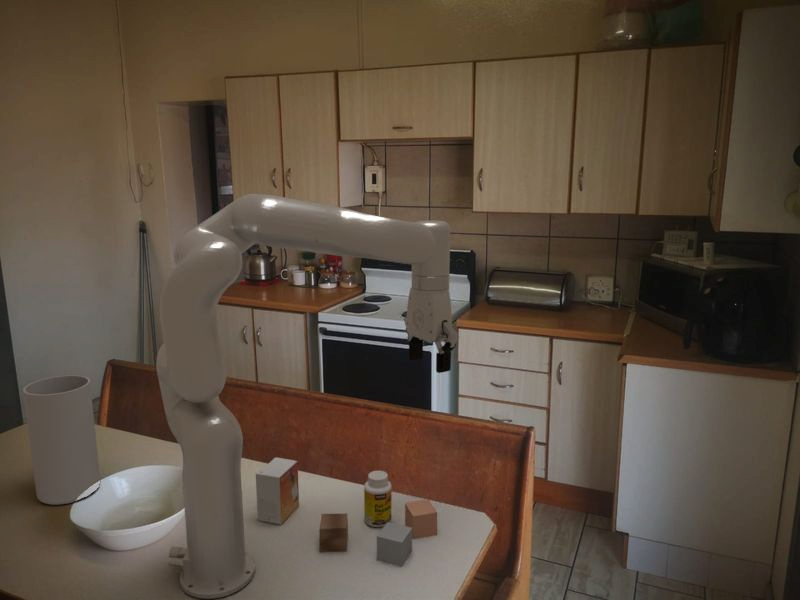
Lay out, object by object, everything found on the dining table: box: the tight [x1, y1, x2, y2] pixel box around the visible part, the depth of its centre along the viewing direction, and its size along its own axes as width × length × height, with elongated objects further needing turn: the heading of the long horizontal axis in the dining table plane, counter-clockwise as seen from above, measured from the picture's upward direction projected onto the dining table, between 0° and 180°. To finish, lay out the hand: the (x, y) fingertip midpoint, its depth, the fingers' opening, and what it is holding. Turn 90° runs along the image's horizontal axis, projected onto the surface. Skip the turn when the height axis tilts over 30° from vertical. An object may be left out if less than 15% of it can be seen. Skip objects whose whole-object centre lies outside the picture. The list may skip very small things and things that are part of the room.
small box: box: [255, 456, 300, 526], centre depth 126 cm, size 8×6×10 cm
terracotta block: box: [404, 499, 438, 540], centre depth 120 cm, size 5×5×5 cm
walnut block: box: [318, 513, 349, 553], centre depth 116 cm, size 5×5×5 cm
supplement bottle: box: [363, 470, 393, 528], centre depth 123 cm, size 6×6×10 cm
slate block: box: [376, 521, 413, 568], centre depth 112 cm, size 5×5×5 cm
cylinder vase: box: [22, 374, 101, 506], centre depth 132 cm, size 12×12×25 cm
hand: (429, 365), depth 124 cm, fingers open, 9 cm apart
